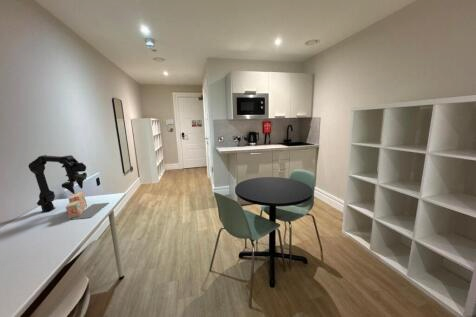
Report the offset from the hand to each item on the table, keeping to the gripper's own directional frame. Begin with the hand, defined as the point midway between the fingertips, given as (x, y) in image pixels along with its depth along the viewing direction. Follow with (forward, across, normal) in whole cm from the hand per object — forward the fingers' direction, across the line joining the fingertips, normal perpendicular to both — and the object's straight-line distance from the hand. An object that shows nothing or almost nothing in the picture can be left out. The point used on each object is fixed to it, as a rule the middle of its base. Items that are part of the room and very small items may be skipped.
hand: (77, 190), depth 155 cm
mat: (+14, -9, -12) cm, 20 cm away
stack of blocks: (+14, -8, -2) cm, 16 cm away
